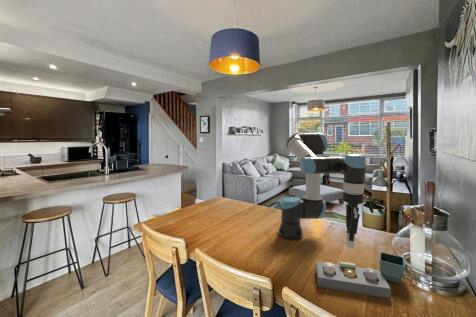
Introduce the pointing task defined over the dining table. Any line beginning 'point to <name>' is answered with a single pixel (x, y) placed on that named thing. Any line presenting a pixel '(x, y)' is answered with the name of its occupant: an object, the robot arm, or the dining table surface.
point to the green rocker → (347, 265)
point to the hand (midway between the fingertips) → (350, 246)
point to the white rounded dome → (371, 274)
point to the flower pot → (392, 267)
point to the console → (352, 281)
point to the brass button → (349, 273)
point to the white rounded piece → (329, 268)
